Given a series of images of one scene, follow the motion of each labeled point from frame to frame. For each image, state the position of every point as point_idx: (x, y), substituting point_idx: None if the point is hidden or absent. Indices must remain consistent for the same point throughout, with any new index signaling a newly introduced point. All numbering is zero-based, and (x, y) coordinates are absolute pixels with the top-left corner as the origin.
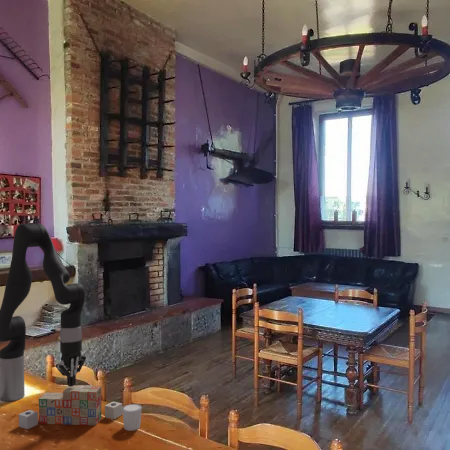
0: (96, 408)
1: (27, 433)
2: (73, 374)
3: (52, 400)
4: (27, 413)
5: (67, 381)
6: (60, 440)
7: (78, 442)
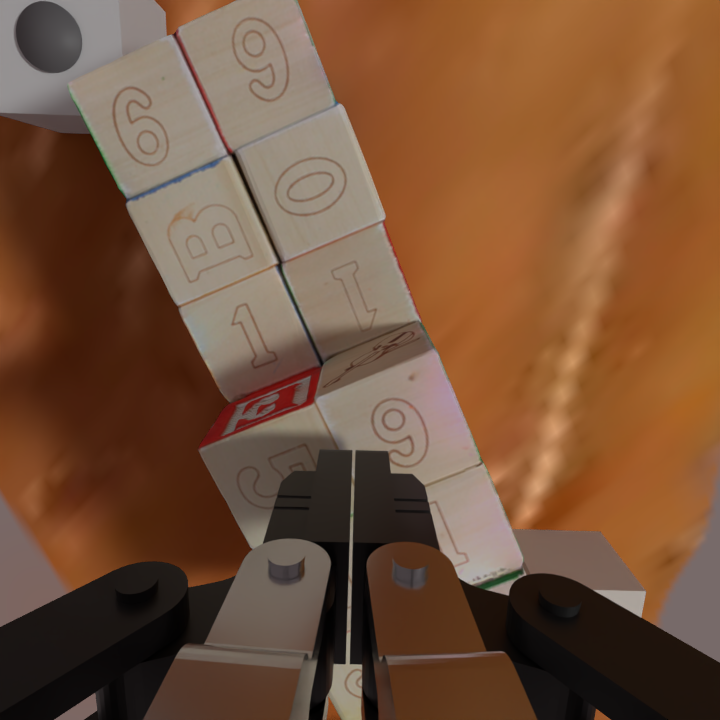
0: None
1: (15, 198)
2: (363, 674)
3: (168, 275)
4: (32, 42)
5: (274, 512)
6: (85, 504)
7: None
